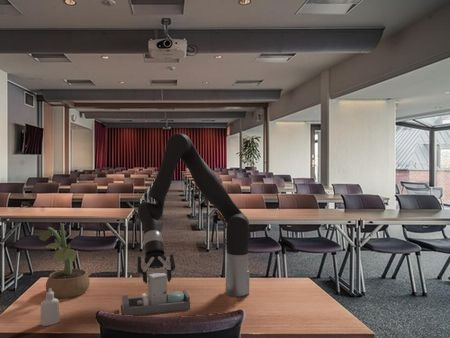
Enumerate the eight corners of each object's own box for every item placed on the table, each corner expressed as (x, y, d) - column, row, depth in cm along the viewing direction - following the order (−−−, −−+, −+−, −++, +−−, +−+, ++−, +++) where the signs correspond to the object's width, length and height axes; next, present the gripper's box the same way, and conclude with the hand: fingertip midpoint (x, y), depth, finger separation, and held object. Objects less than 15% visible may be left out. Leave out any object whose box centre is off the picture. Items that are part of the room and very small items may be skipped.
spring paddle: (145, 303, 146) (145, 293, 146) (147, 311, 139) (148, 300, 139) (136, 304, 145) (136, 294, 145) (138, 312, 138) (138, 301, 138)
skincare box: (151, 310, 141) (152, 277, 140) (147, 306, 144) (147, 274, 144) (167, 306, 144) (167, 274, 144) (162, 302, 148) (162, 271, 147)
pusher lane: (184, 301, 152) (184, 288, 152) (190, 311, 143) (190, 298, 142) (121, 307, 145) (121, 294, 145) (123, 318, 135) (123, 304, 135)
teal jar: (181, 300, 150) (182, 290, 150) (185, 306, 144) (185, 296, 144) (166, 302, 148) (166, 292, 148) (169, 308, 142) (169, 298, 142)
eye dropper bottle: (43, 320, 132) (43, 286, 132) (60, 320, 133) (60, 286, 133) (38, 326, 128) (38, 291, 128) (56, 326, 129) (56, 290, 128)
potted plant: (51, 285, 167) (51, 216, 166) (94, 284, 169) (94, 216, 167) (29, 305, 145) (29, 226, 143) (78, 305, 146) (79, 227, 145)
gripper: (136, 240, 150) (139, 278, 139) (172, 238, 154) (178, 275, 144) (135, 250, 155) (137, 288, 145) (170, 248, 159) (175, 284, 149)
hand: (157, 281), depth 144 cm, fingers open, 8 cm apart
